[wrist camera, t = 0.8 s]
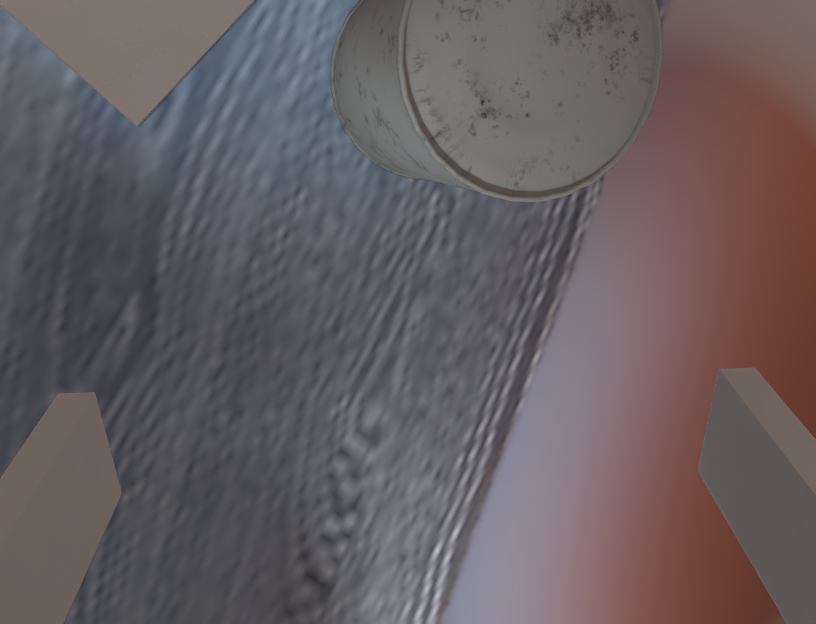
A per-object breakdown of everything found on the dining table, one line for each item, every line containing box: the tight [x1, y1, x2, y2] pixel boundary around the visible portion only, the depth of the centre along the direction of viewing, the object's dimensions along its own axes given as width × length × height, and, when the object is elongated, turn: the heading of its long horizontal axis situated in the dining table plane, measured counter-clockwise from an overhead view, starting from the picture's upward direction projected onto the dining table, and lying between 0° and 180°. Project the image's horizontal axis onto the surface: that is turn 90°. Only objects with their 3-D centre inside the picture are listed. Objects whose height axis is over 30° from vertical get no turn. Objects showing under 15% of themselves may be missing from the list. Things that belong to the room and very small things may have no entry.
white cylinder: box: [331, 0, 663, 202], centre depth 30 cm, size 10×10×12 cm
